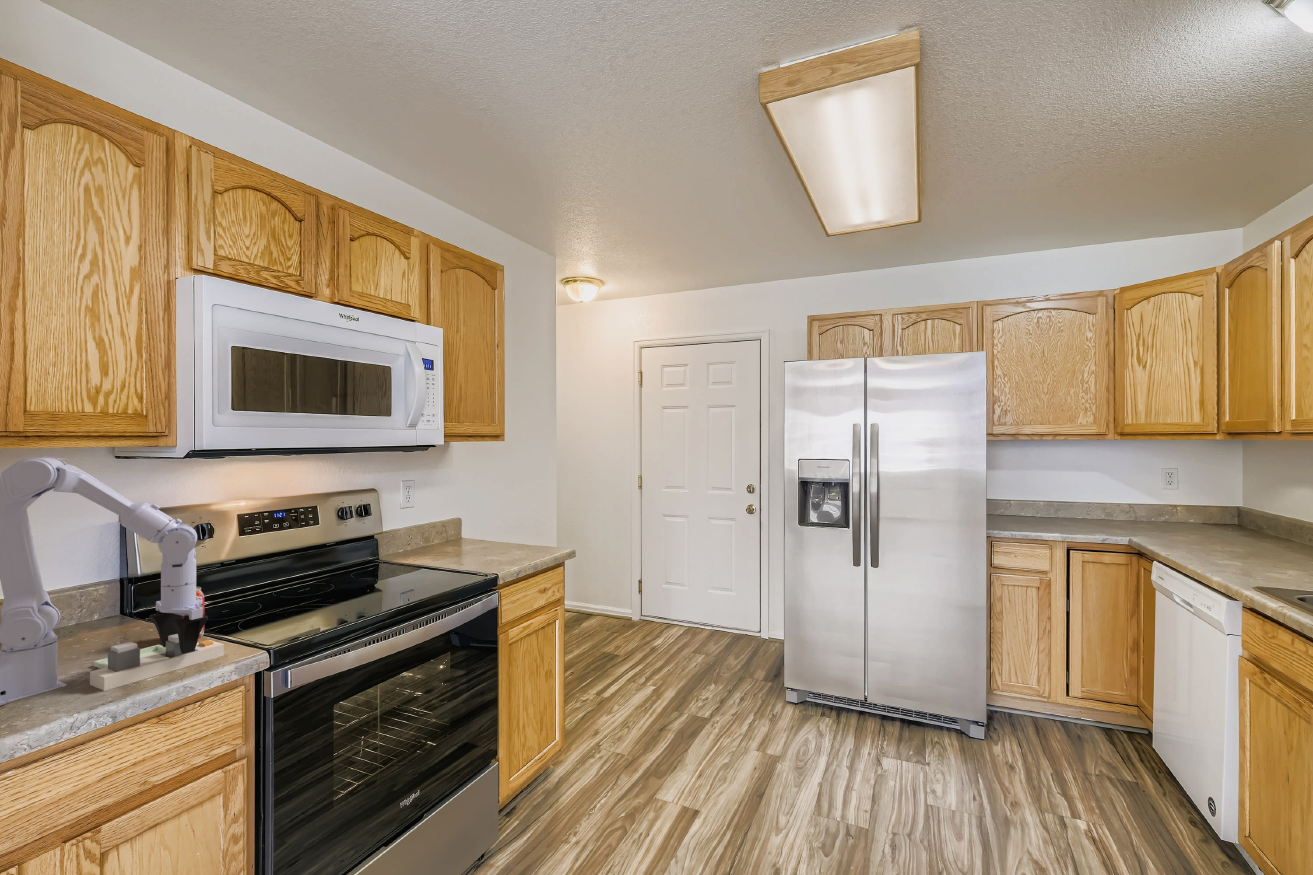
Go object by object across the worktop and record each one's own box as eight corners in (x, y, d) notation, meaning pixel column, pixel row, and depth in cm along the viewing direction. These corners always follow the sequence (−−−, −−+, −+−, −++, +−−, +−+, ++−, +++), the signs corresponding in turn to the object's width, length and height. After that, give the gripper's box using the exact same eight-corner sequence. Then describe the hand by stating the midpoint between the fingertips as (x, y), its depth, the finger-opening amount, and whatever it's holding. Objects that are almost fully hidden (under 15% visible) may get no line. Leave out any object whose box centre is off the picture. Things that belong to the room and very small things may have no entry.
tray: (118, 678, 116) (118, 670, 116) (93, 668, 121) (93, 661, 121) (184, 659, 126) (184, 652, 126) (158, 651, 131) (158, 644, 131)
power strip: (104, 693, 109) (104, 654, 109) (89, 687, 112) (90, 649, 112) (223, 657, 127) (224, 624, 127) (209, 653, 129) (209, 620, 129)
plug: (174, 668, 120) (174, 638, 120) (165, 665, 121) (165, 636, 121) (194, 662, 123) (194, 633, 123) (186, 659, 124) (186, 631, 124)
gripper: (219, 583, 122) (219, 648, 122) (183, 575, 129) (183, 637, 129) (179, 591, 116) (179, 659, 116) (143, 582, 122) (143, 647, 122)
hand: (178, 648), depth 122 cm, fingers open, 7 cm apart
